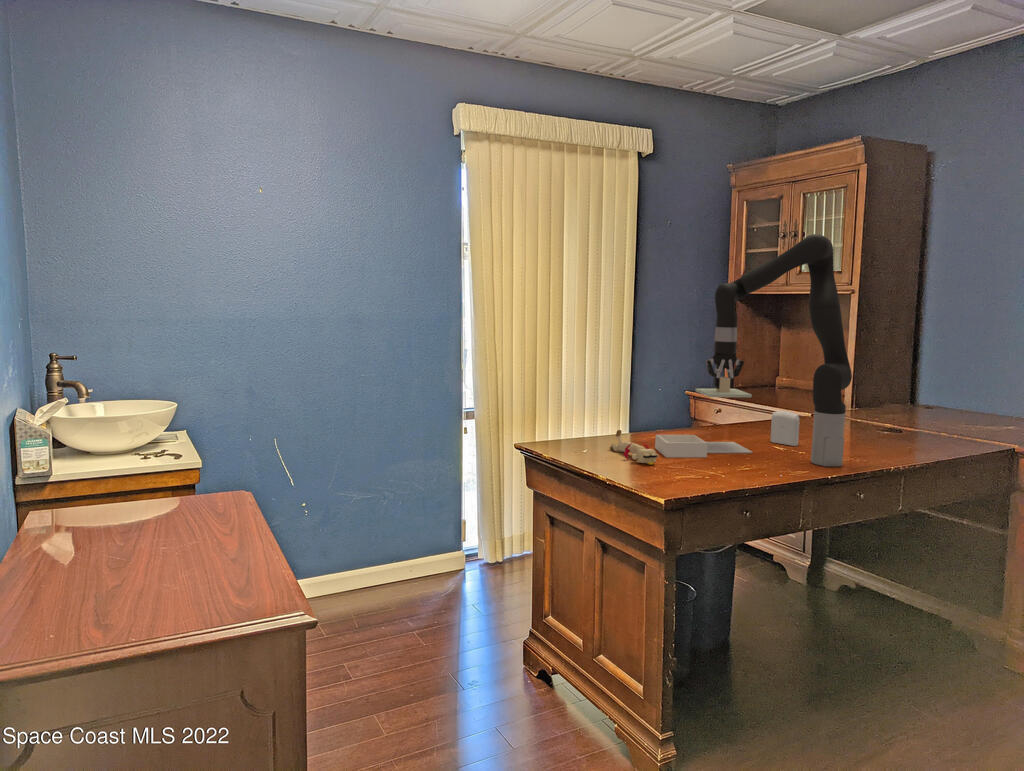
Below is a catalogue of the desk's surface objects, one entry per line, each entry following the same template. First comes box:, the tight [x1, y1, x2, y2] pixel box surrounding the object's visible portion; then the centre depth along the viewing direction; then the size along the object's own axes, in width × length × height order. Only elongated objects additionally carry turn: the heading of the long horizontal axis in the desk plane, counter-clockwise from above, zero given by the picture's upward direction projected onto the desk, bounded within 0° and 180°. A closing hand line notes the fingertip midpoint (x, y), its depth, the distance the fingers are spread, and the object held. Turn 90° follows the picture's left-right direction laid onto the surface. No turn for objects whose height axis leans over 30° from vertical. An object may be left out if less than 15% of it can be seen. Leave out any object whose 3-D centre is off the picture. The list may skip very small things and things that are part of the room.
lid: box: [694, 376, 753, 398], centre depth 252 cm, size 15×15×6 cm
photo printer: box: [770, 410, 801, 447], centre depth 263 cm, size 10×4×12 cm, turn 39°
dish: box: [654, 434, 708, 459], centre depth 245 cm, size 14×14×5 cm
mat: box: [706, 441, 753, 454], centre depth 255 cm, size 17×17×1 cm
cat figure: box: [609, 429, 659, 465], centre depth 237 cm, size 10×9×25 cm
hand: (723, 388), depth 252 cm, fingers closed on lid, 3 cm apart
